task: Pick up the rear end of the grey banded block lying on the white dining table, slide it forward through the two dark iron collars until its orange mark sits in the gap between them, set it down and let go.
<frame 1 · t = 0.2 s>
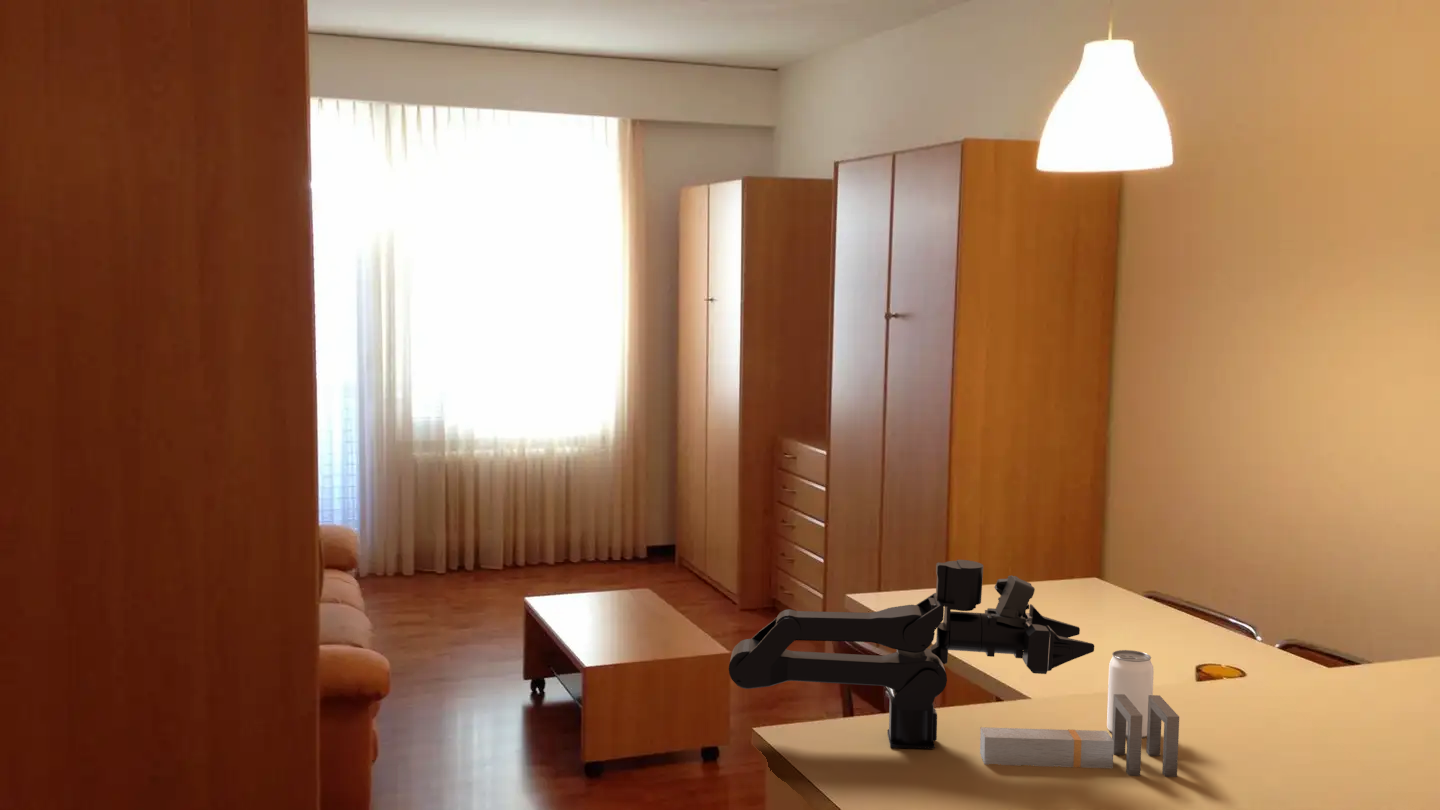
hand: (1086, 639, 174), 16 cm above the table, tool horizontal, fingers open, 9 cm apart
grey banded block: (1045, 761, 170), on the table
can: (1128, 732, 182), on the table
collar far: (1161, 764, 169), on the table
collar near: (1125, 763, 170), on the table
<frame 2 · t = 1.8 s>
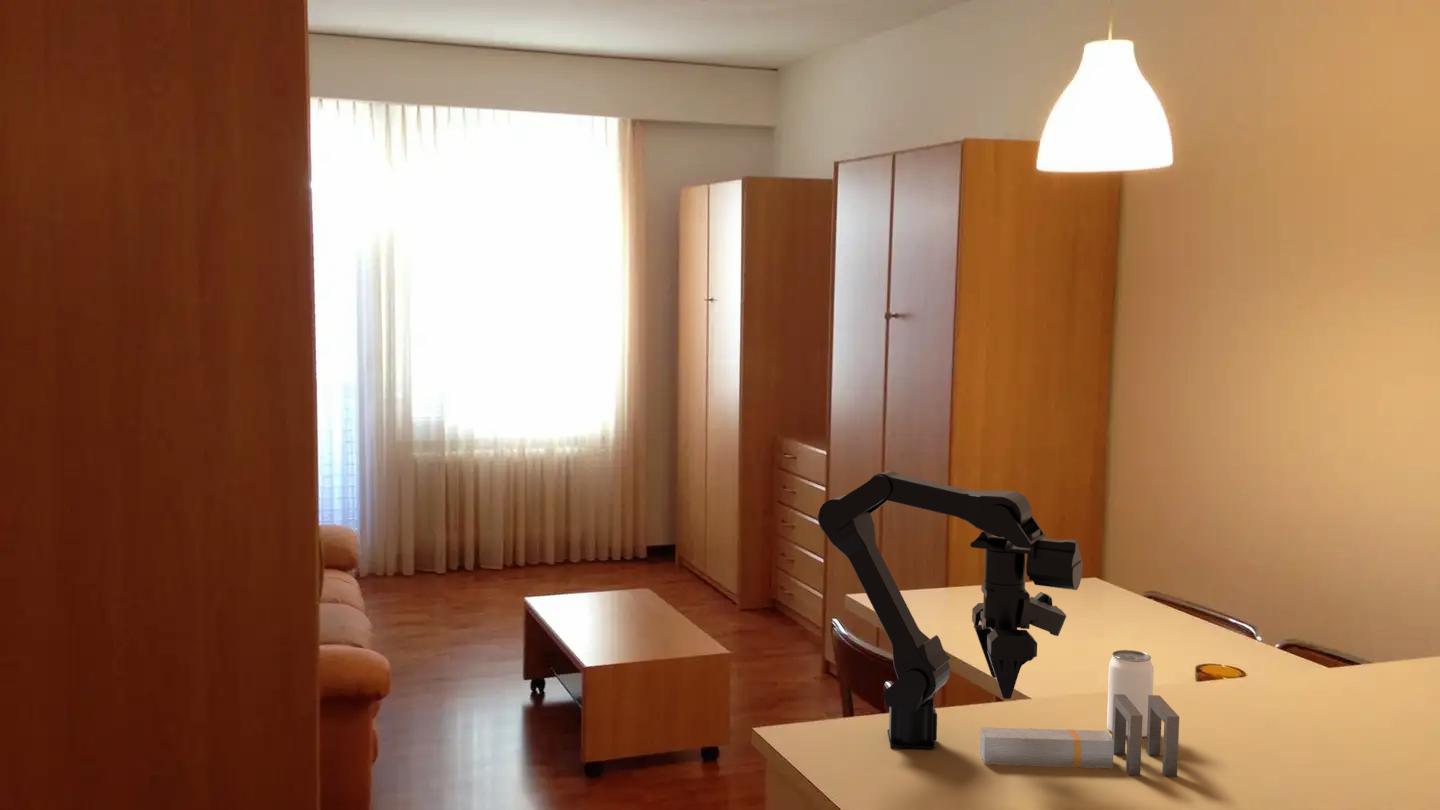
hand: (1001, 687, 170), 11 cm above the table, tool pointing down, fingers open, 9 cm apart
nothing on the table moved.
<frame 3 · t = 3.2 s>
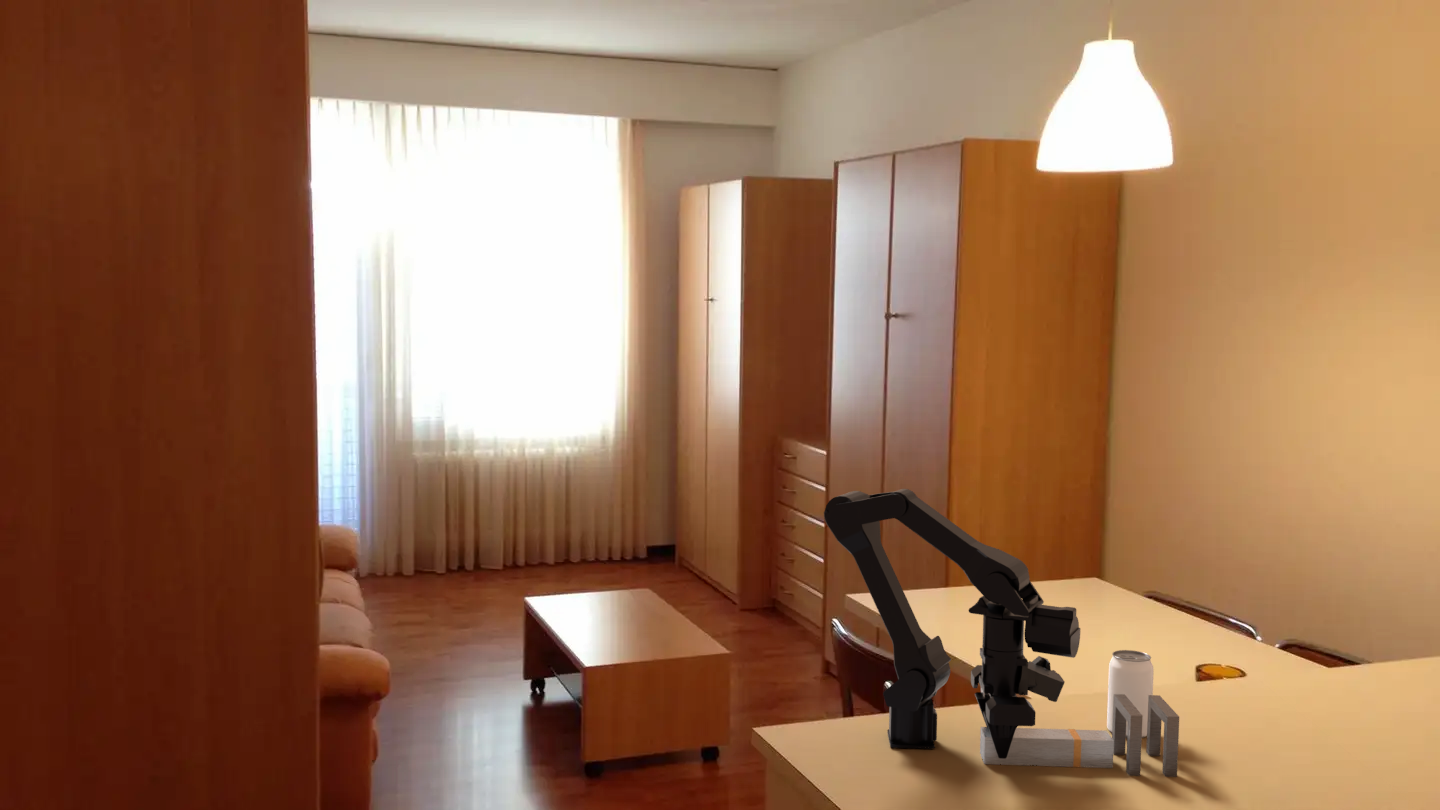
hand: (999, 752, 171), 1 cm above the table, tool pointing down, fingers closed on grey banded block, 4 cm apart
grey banded block: (1045, 760, 170), on the table, touching gripper
everything else where it was.
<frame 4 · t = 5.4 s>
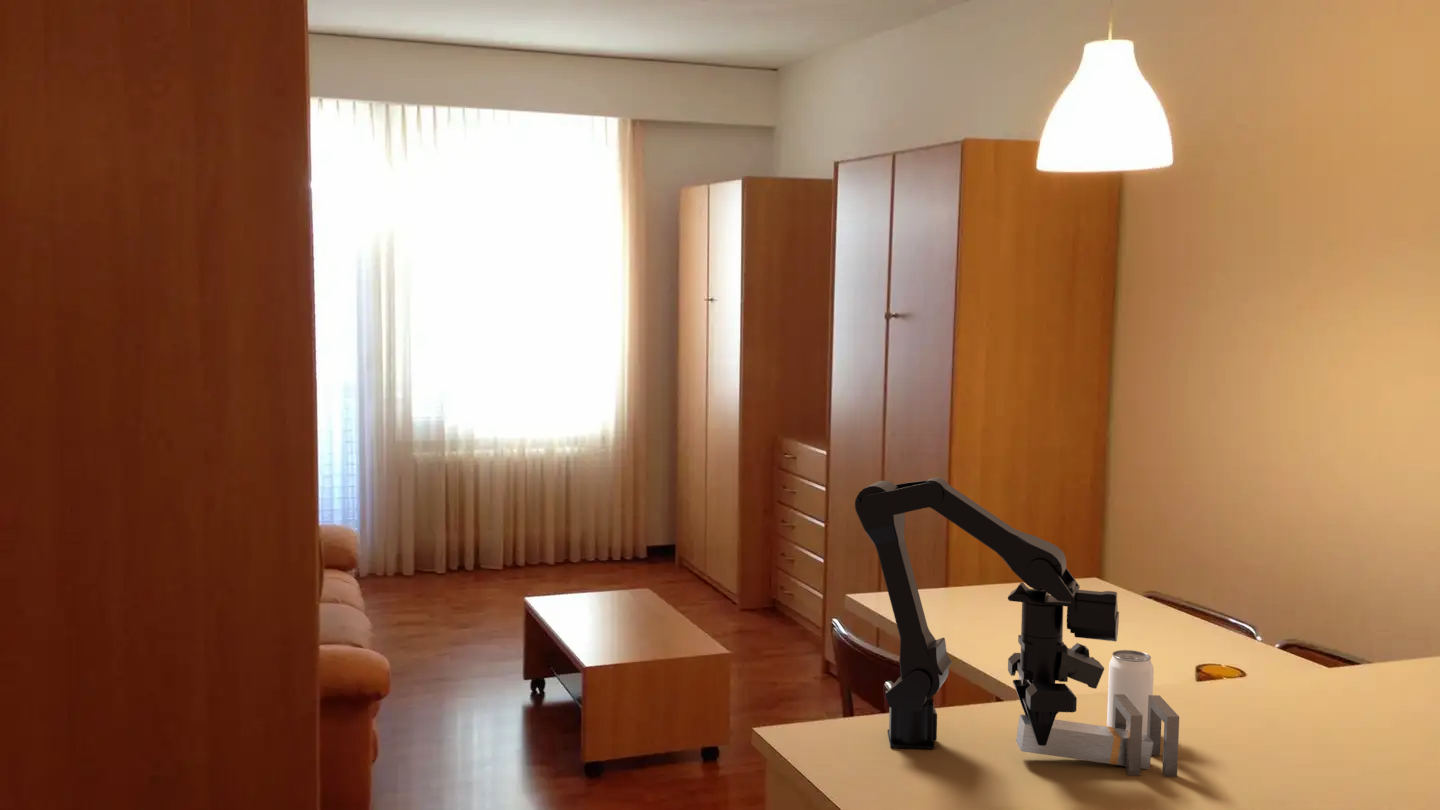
hand: (1038, 739, 170), 3 cm above the table, tool pointing down, fingers closed on grey banded block, 4 cm apart
grey banded block: (1081, 754, 170), point 1 cm above the table, tilted 7°, touching gripper
everything else where it was.
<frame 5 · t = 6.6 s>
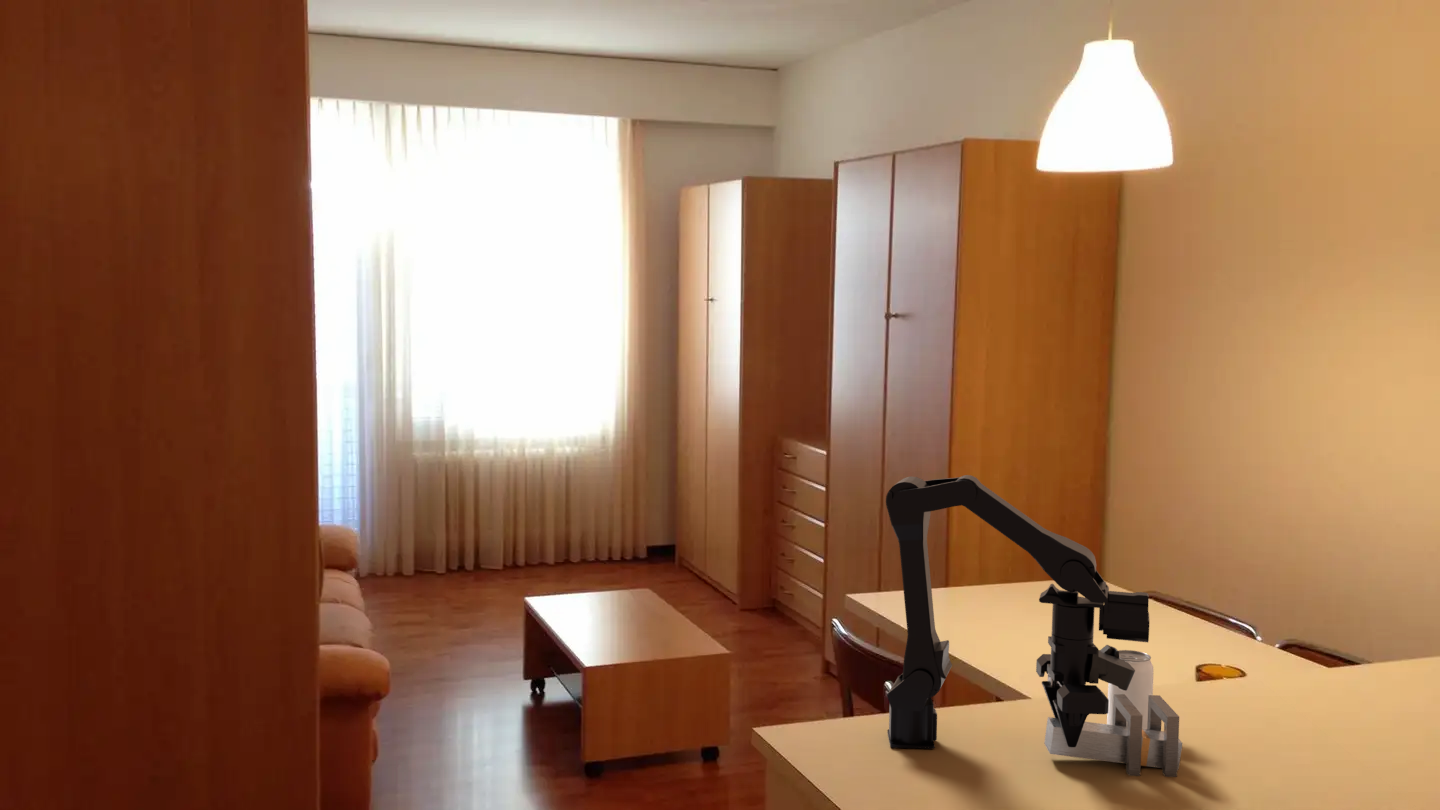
hand: (1068, 741, 170), 3 cm above the table, tool pointing down, fingers closed on grey banded block, 4 cm apart
grey banded block: (1110, 756, 170), point 1 cm above the table, tilted 6°, touching gripper
everything else where it was.
when the fingers open (2 cm above the table, at t = 7.4 s): grey banded block stays where it is, on the table.
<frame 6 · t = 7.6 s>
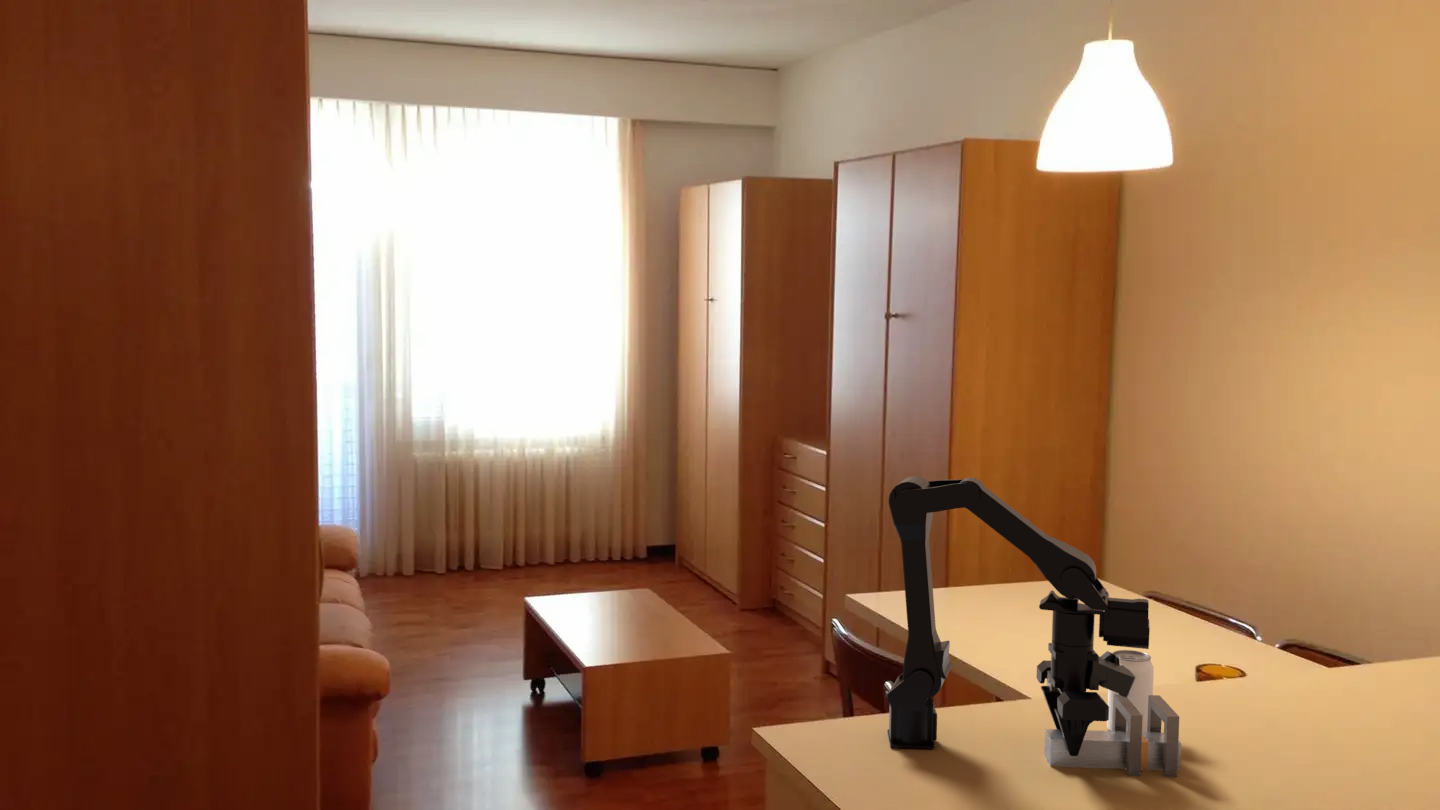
hand: (1068, 747, 170), 2 cm above the table, tool pointing down, fingers open, 6 cm apart
grey banded block: (1111, 763, 170), on the table
everything else where it was.
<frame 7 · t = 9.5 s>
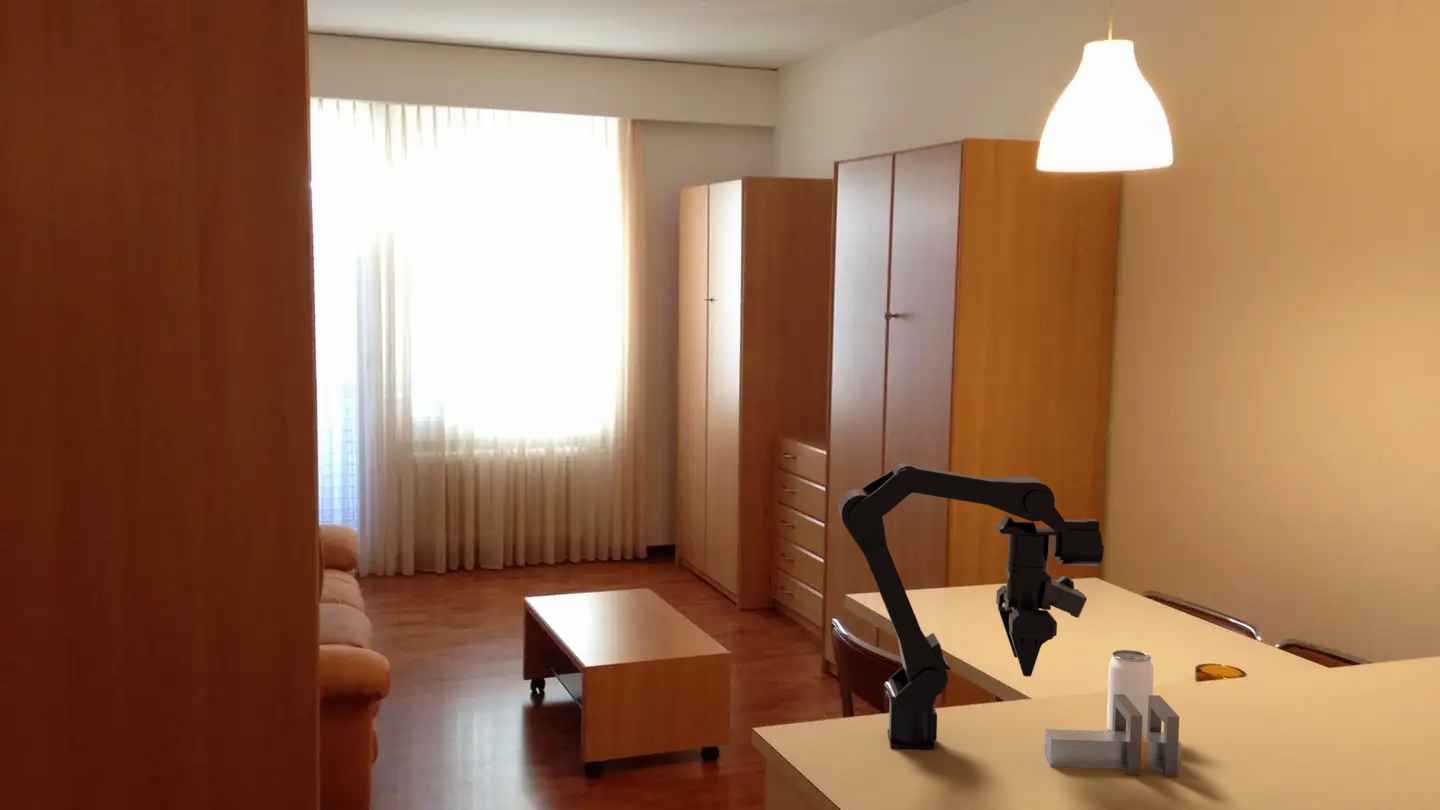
hand: (1022, 666, 176), 12 cm above the table, tool pointing down, fingers open, 9 cm apart
nothing on the table moved.
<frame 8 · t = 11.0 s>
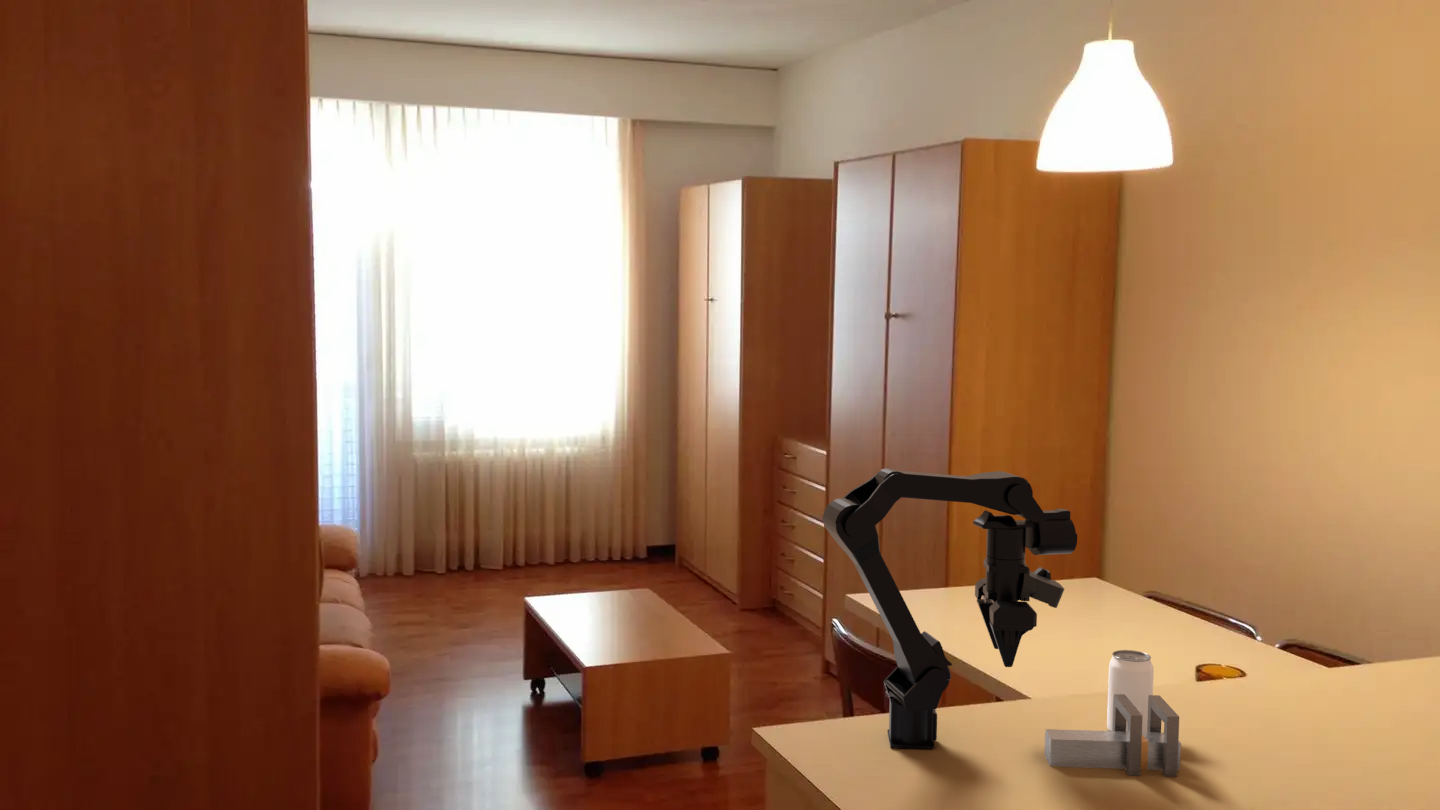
hand: (1002, 657, 180), 12 cm above the table, tool pointing down, fingers open, 9 cm apart
nothing on the table moved.
at the end: grey banded block 0.8 cm from the target spot, on the table; grey banded block tilted 0°; the gripper is holding nothing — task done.
